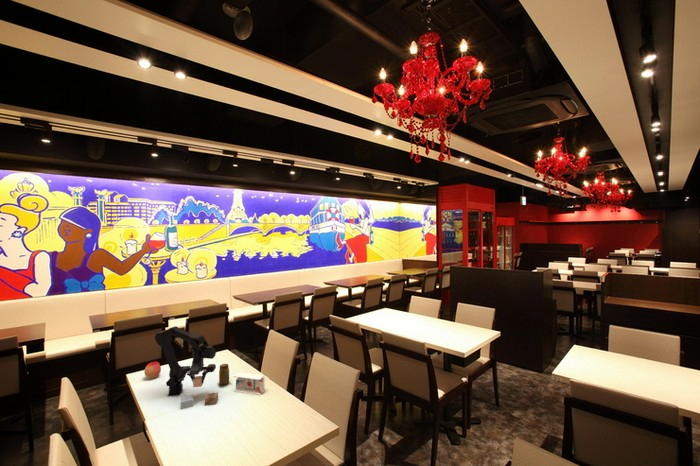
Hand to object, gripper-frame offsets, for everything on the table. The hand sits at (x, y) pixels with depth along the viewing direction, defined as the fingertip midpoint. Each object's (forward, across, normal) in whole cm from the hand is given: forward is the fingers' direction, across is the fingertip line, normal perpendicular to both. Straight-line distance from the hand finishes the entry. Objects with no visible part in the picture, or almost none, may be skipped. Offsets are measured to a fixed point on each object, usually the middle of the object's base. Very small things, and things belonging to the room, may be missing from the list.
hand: (198, 383), depth 186 cm
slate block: (+8, -3, -10) cm, 13 cm away
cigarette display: (+8, +30, +1) cm, 31 cm away
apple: (+8, -39, +32) cm, 51 cm away
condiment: (+8, +12, +13) cm, 19 cm away
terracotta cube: (+1, 0, 0) cm, 1 cm away
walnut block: (+8, +10, -9) cm, 15 cm away
